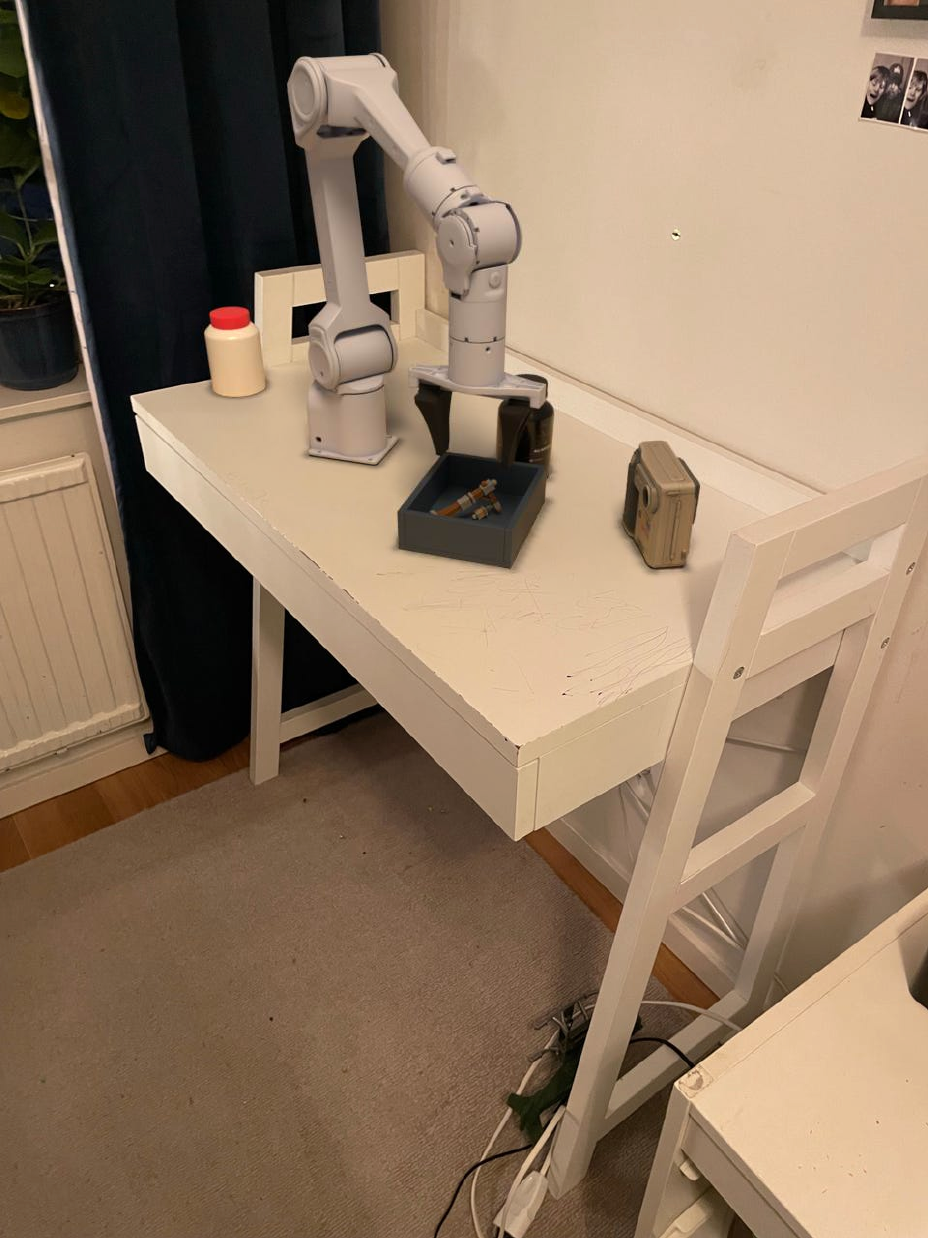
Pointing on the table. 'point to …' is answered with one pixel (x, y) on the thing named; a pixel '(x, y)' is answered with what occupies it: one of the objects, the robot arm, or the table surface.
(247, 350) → the pill bottle
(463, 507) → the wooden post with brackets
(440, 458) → the bin
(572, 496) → the table surface
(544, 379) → the supplement bottle
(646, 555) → the camera
